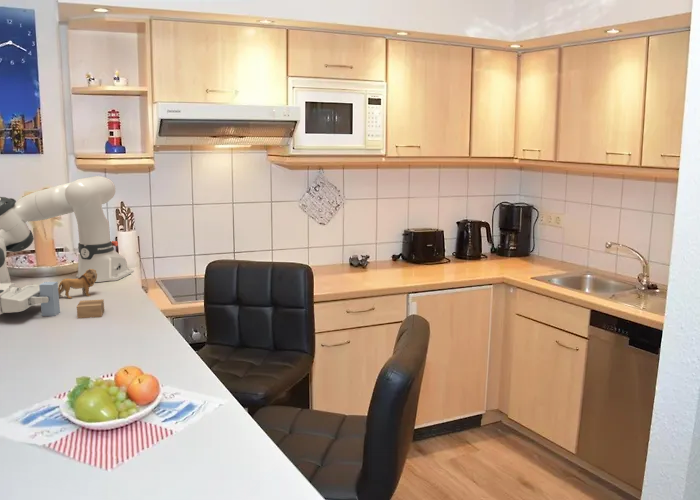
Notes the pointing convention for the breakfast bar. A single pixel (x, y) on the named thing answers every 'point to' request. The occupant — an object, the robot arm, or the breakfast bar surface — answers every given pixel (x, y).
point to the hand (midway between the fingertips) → (52, 297)
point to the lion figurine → (78, 283)
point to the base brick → (90, 308)
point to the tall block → (52, 291)
